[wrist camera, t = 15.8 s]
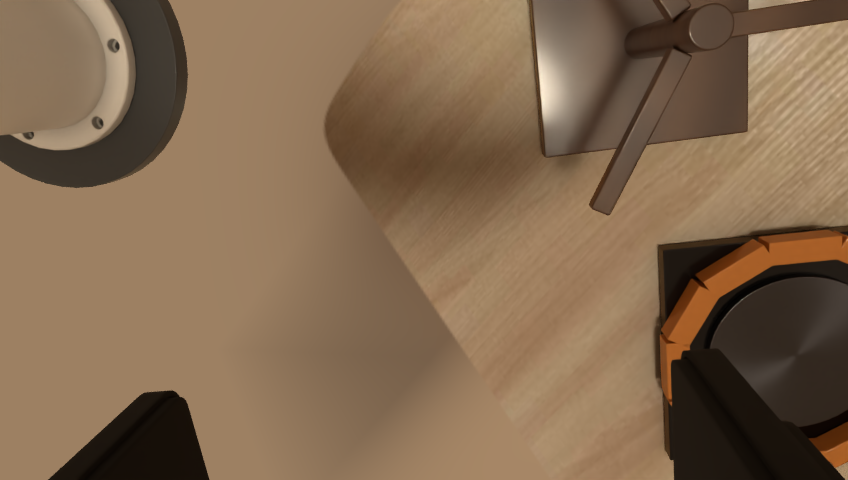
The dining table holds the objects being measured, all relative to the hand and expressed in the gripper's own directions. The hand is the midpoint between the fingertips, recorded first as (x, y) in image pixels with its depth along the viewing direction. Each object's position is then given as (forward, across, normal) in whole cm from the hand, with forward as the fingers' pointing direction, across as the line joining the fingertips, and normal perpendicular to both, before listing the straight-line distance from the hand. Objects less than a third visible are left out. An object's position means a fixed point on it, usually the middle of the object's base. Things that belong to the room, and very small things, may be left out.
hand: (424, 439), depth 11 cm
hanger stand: (+28, -12, -7) cm, 32 cm away
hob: (+28, -20, +14) cm, 37 cm away
